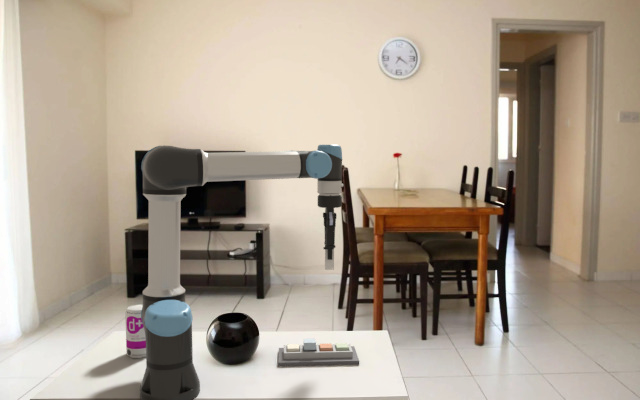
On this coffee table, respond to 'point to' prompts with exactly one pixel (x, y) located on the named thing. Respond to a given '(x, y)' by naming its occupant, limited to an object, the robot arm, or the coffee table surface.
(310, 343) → the key blue
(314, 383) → the coffee table surface
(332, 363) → the keypad
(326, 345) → the key terracotta
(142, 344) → the supplement can
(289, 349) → the key ivory
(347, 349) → the key sage
